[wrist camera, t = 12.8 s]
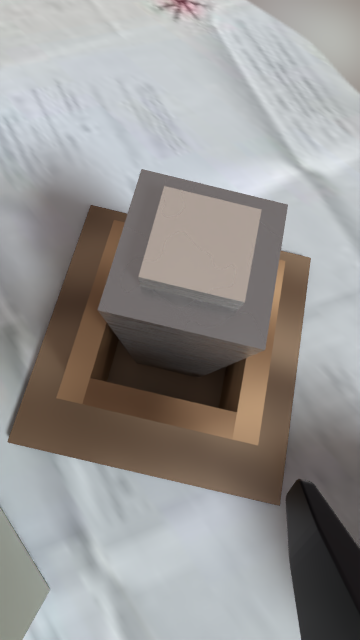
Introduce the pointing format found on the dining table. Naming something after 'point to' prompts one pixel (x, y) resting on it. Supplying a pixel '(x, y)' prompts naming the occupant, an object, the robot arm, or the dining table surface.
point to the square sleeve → (161, 388)
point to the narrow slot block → (17, 585)
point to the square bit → (193, 275)
